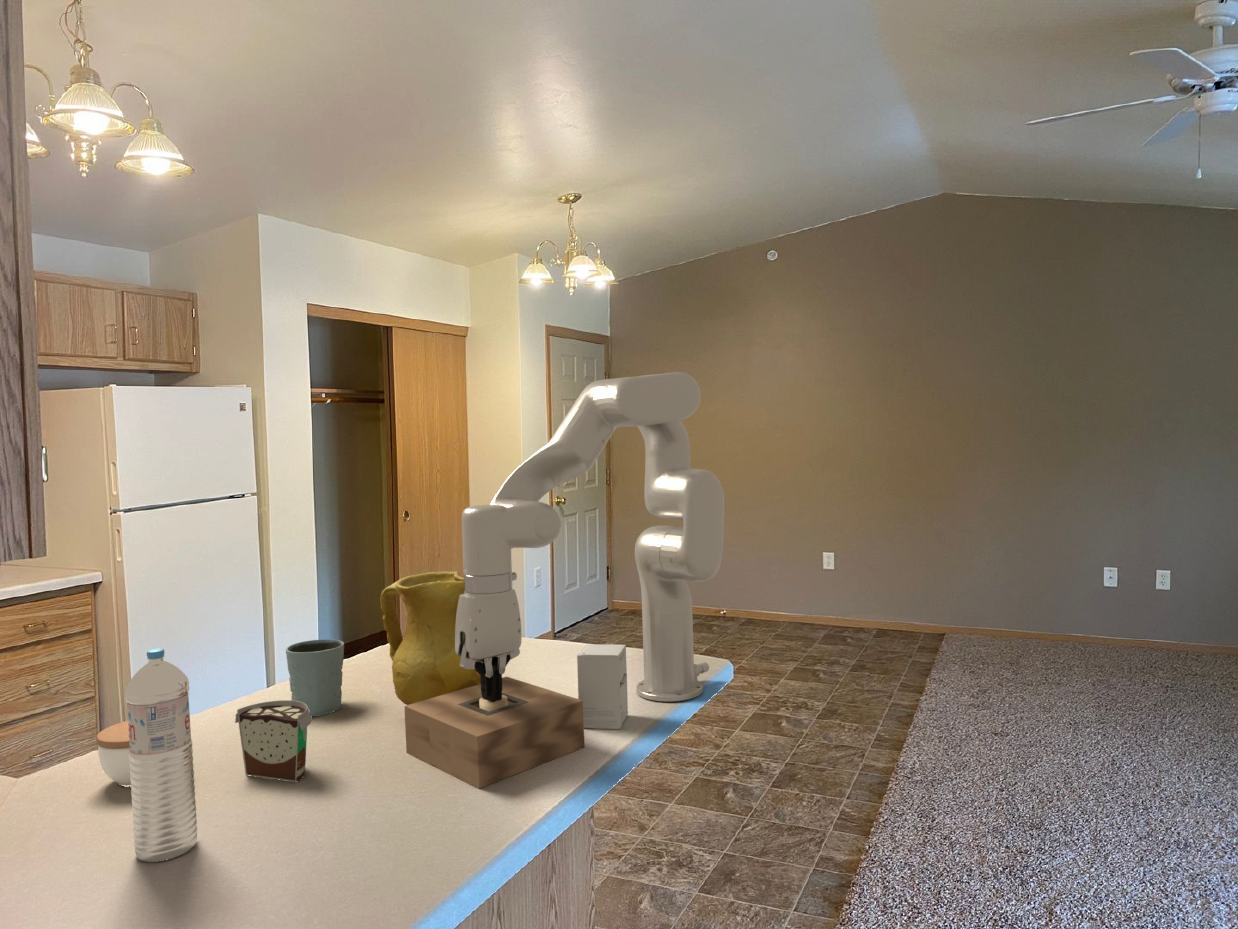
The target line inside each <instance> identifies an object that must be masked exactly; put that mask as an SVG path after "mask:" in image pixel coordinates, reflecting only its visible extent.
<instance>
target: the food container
mask: <svg viewBox="0 0 1238 929" xmlns="http://www.w3.org/2000/svg"><path fill="white" fill-rule="evenodd" d="M312 722H313V717H311V713H310V710H309V708H308V707H307V705H306V704H305V703H303V702H299V701H292V700H291V699H290V700H289V699H286V700H284V699H283V700H282V699H281V700H272V701H271V700H270V701H265V702H264V701H263V702H258V703H253V704H250V705H247V706H243V707H241V708H238V709H237V710H236V714H235V719H234V723H235V724H238V728H239V736H240V743H241V750H242V751H241V752H242V758H243V765H244V774H245V776H246V775H251V776H256V777H255V778H259V777H263V778H262V779H266V778H268V779H267V780H274V779H280V780H279V781H281V780H287V781H286V782H289V781H291V783H298V782H299V781H301V780H302V779H303V778H304V777H305V775H306V761H307V758H306V757H307V740H308V739H307V737H308V726H310V725H311V724H312ZM251 776H250V777H251ZM302 777H303V778H302ZM300 779H301V780H300ZM297 781H298V782H297Z"/></svg>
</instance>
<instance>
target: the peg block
mask: <svg viewBox="0 0 1238 929" xmlns="http://www.w3.org/2000/svg"><path fill="white" fill-rule="evenodd" d="M502 695H505V696H507V702H508V706H505V707H502V708H499V709H496V710H493V711H486V710H484V709H481V708H480V706H479V699H480V698H482V694H481V684H479V685H475V686H472V687H469V688H465V689H462V690H458V691H455V692H451V693H448V694H444V695H441V696H437V697H434V698H430V699H427V700H424V701H420V702H417V703H413V704H410V705H406V704H405V705H404V724H405V725H404V726H405V728H404V730H405V744H406V748H405V749H406V750H405V751H406V754H409V755H410V756H413V757H415V758H417V759H418V760H421V761H423V762H424V763H427V764H428V765H431V766H432V767H435V768H437V769H439V770H440V771H442V772H445V773H447V774H448V775H451V776H453V777H455V778H457V779H458V780H461V781H462V782H465V783H466V784H469V785H471V786H473V787H474V788H477V789H479V790H480V789H482V788H485V787H487V786H490V785H493V784H495V783H498V782H500V781H503V780H505V779H508V778H510V777H513V776H515V775H518V774H520V773H523V772H525V771H528V770H531V769H533V768H535V767H538V766H540V765H543V764H545V763H549V762H551V761H554V760H555V759H559V758H560V757H561V758H562V757H563V756H566V755H568V754H571V753H574V752H576V751H578V749H579V750H581V749H584V748H585V728H584V721H583V700H579V699H578V698H575V697H572V696H570V695H566V694H563V693H561V692H556V691H553V690H550V689H549V688H544V687H541V686H539V685H538V686H537V685H536V684H531V683H529V682H525V681H523V680H519V679H516V678H513V677H510V676H504V677H503V676H502ZM580 748H581V749H580Z"/></svg>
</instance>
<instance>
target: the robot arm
mask: <svg viewBox="0 0 1238 929" xmlns="http://www.w3.org/2000/svg"><path fill="white" fill-rule="evenodd" d="M701 394H702V392H701V388H700V386H699V384H698V382H697V380H696V379H695V378H694V377H693V376H691V375H690V374H688V373H687V372H682V371H674V372H665V373H656V374H655V373H654V374H646V375H644V374H643V375H638V376H627V377H626V376H625V377H616V378H605V379H599V380H595V381H592V382H590V383H589V384H588V385H586V386H585V388H584V389H583V390H582V392H581V393H580V394H579V395H578V397H577V399H576V400H575V402H574V403H573V405H572V406H571V407H570V409H569V411H568V412H567V414H566V416H565V417H564V418H563V420H562V422H561V423H560V424H559V426H558V427H557V429H556V430H555V432H554V433H553V435H552V437H551V438H550V440H548V442H547V443H546V444H545V445H543V446H542V447H540V448H539V449H538V450H536V451H535V452H534V453H533V454H532V455H531V456H530V457H529V458H527V459H526V460H524V462H522V464H520V465H519V466H518V467H517V468H515V469H514V470H513V471H512V472H511V473H510V474H509V476H508V477H507V478H506V479H505V480H504V481H503V483H502V485H501V486H500V487H499V489H498V491H497V492H496V493H495V495H494V497H493V498H492V500H491V502H490V503H489V504H478V505H471V506H467V507H466V508H464V509H463V511H462V513H461V514H462V515H461V536H462V539H461V540H462V564H463V565H462V568H463V569H462V570H463V573H462V574H463V578H464V594H461V595H460V596H459V600H458V606H457V613H456V624H455V652H456V654H457V655H458V656H461V660H460V667H462V668H465V669H474V670H475V671H476V672H477V674H479V675H480V678H481V694H482V698H483V699H485V700H488V701H491V702H495V701H496V700H498V701H499V700H501V699H502V678H503V675H504V674H505V672H506V667H507V665H508V664H509V663H510V661H511V660H513V659H515V658H517V657H518V656H519V655H520V654H521V650H520V648H521V645H522V639H523V637H522V636H523V635H522V621H521V612H520V607H519V606H520V605H519V600H518V597H517V593H516V592H517V591H516V590H515V589H514V588H513V581H516V580H517V579H518V576H517V575H518V574H517V573H516V572H515V571H513V567H512V566H513V565H512V564H513V563H512V562H513V560H512V549H515V548H517V549H519V548H520V549H523V548H524V549H538V548H539V549H540V548H544V547H546V546H549V545H550V544H552V543H553V541H555V540H556V539H557V537H558V535H559V534H560V530H561V525H562V524H561V517H560V515H559V514H558V511H557V510H556V509H555V508H554V507H553V506H551V505H550V504H548V503H545V502H542V501H540V500H541V499H542V498H543V497H544V496H546V495H547V494H548V493H549V492H550V491H552V490H554V489H555V488H556V487H558V486H560V485H563V484H566V483H567V482H571V481H572V480H574V479H577V478H578V477H581V476H583V475H585V474H586V473H587V472H589V471H590V470H591V469H592V467H593V466H594V464H595V463H596V461H597V459H598V458H599V456H600V454H601V453H602V452H603V449H604V448H605V447H606V446H607V444H608V442H609V440H610V438H611V437H612V435H613V434H614V433H615V430H616V429H619V428H627V427H628V428H629V427H637V428H638V430H639V431H640V433H641V436H642V439H643V441H644V448H645V449H644V450H645V452H644V453H645V454H644V455H645V460H644V461H645V462H644V463H645V465H644V467H645V468H644V496H643V497H644V504H645V508H646V510H647V512H648V513H650V515H652V516H655V517H656V518H661V519H669V520H678V521H679V520H682V521H683V526H676V525H675V526H674V525H654V526H650V527H648V528H646V529H645V530H643V531H642V532H641V533H640V534H639V536H638V537H637V539H636V542H635V545H634V560H635V564H636V568H637V573H638V579H639V583H640V584H639V585H640V593H641V594H640V596H641V615H642V616H641V617H642V618H641V619H642V647H643V648H642V649H643V672H644V675H643V677H644V679H643V680H641V681H640V682H638V683H637V685H636V689H635V690H636V693H637V695H638V696H639V697H641V698H643V699H645V700H650V701H655V702H667V703H668V702H669V703H670V702H672V703H673V702H680V701H687V700H691V699H694V698H697V697H699V696H700V695H701V694H702V693H703V691H704V688H703V687H704V686H703V683H702V682H701V681H699V680H698V677H699V676H700V675H702V674H704V673H707V672H708V671H709V670H710V666H709V663H708V662H706V661H704V662H700V663H695V659H694V658H695V657H694V655H695V654H694V651H695V650H694V628H693V627H694V624H693V619H694V618H693V599H692V594H691V590H690V587H689V585H688V582H687V581H689V582H697V583H698V582H701V583H702V582H706V581H709V580H711V579H712V578H714V577H715V576H716V575H717V574H718V573H719V570H720V567H721V565H722V560H723V554H724V532H725V529H724V527H725V494H724V489H723V486H722V484H721V481H720V480H719V478H718V477H717V476H716V475H715V474H714V473H713V472H712V471H710V470H707V469H701V468H692V467H691V443H690V442H691V441H690V437H689V434H688V431H687V429H686V427H685V425H684V424H683V422H682V421H683V420H687V419H688V418H689V417H691V416H693V415H694V414H695V413H696V412H697V410H698V408H699V406H700V404H701V399H702V398H701V396H702V395H701Z"/></svg>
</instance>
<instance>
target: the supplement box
mask: <svg viewBox="0 0 1238 929" xmlns="http://www.w3.org/2000/svg"><path fill="white" fill-rule="evenodd" d="M576 660H577V661H576V664H577V667H576V668H577V692H578V693H577V694H578V695H577V696H578V698H577V699H579V700H583V721H584V729H598V730H599V729H600V730H620V729H621V728H622V725H623V724H624V722H625V721H626V718H627V717H628V714H629V710H628V709H629V707H628V706H629V705H628V703H629V702H628V699H629V698H628V670H627V669H628V668H627V645H626V644H608V643H607V644H601V643H600V644H590V643H589V644H586V645H585V646H584V647H583V648H582V649H581V650H580V652H578V653H577V656H576Z"/></svg>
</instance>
